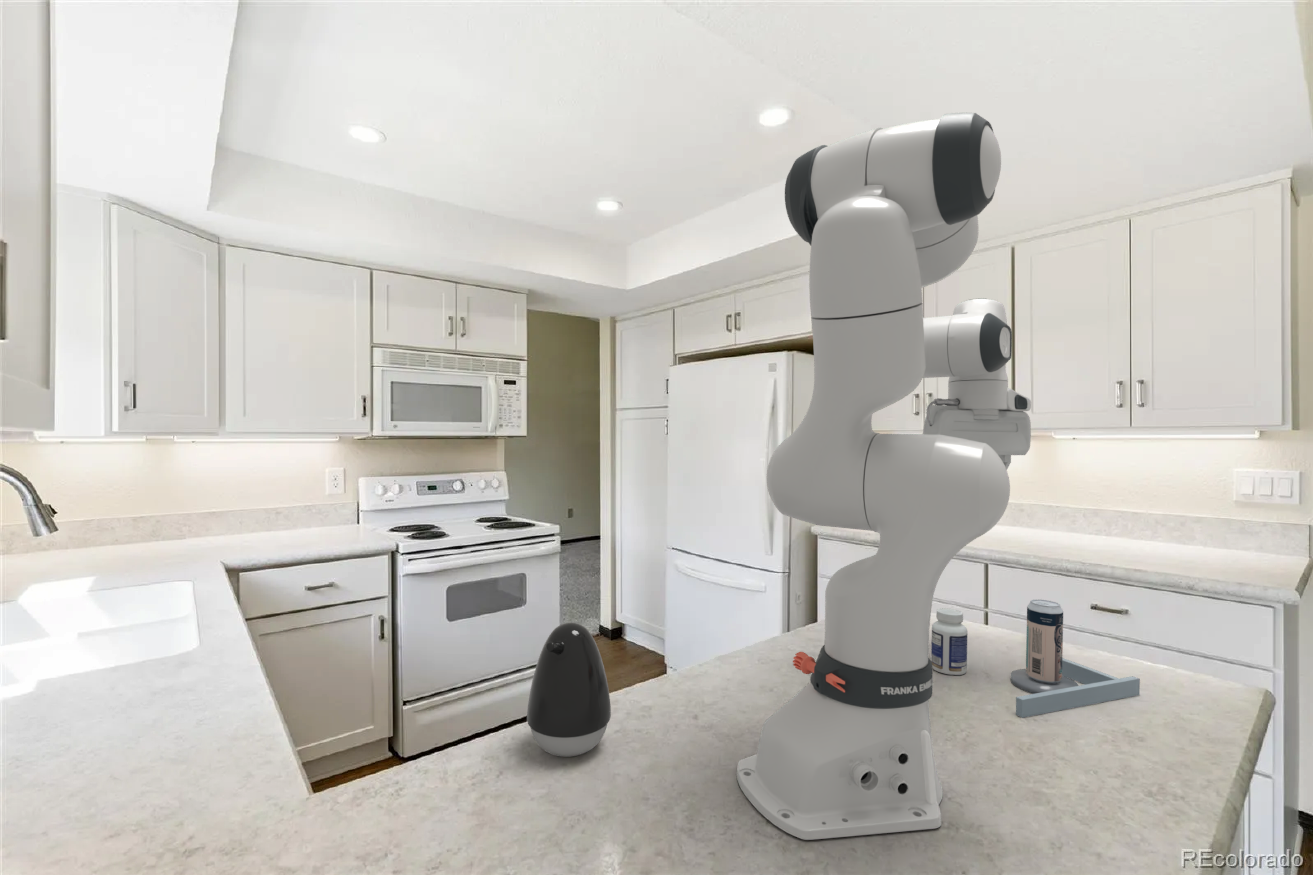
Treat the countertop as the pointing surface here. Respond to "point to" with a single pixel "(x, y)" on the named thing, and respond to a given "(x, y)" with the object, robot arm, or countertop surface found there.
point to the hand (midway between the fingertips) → (975, 482)
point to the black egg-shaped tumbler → (569, 693)
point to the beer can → (1044, 641)
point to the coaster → (1037, 683)
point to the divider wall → (1078, 691)
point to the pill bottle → (949, 643)
